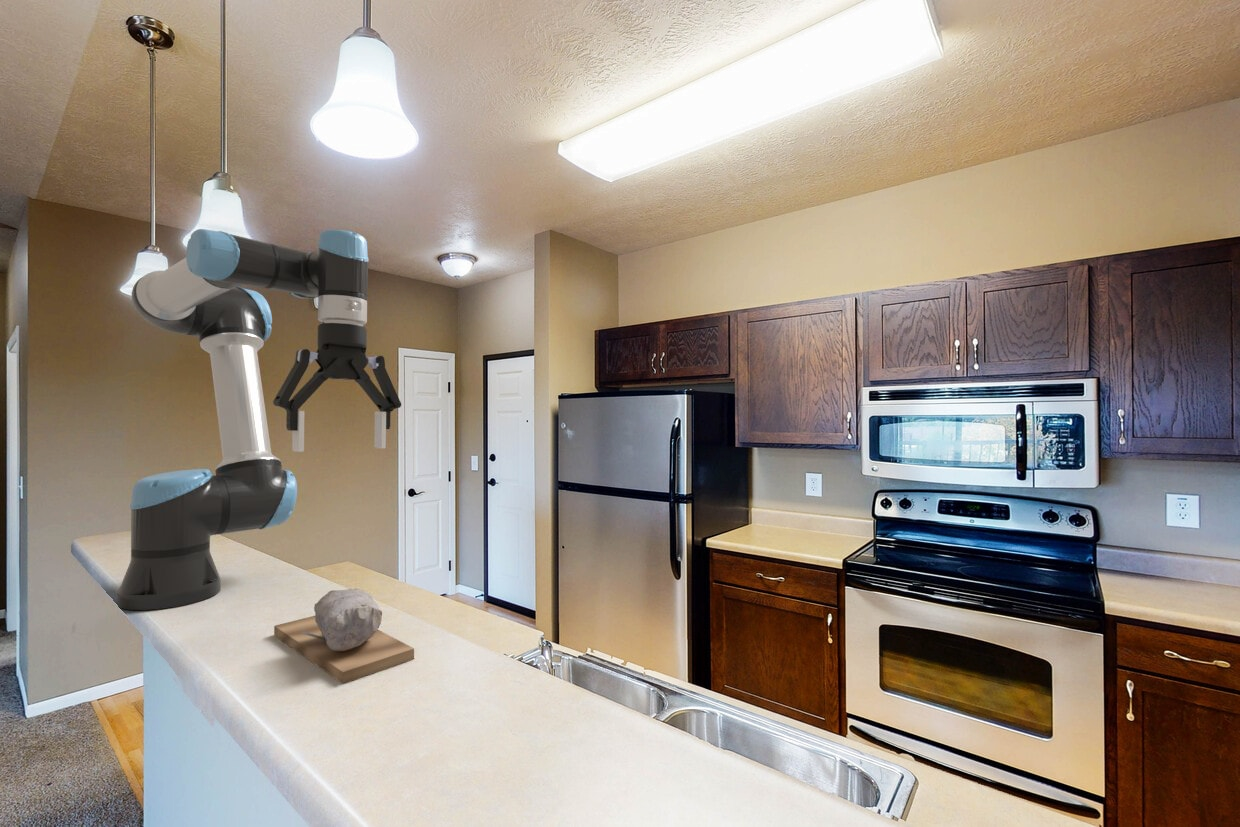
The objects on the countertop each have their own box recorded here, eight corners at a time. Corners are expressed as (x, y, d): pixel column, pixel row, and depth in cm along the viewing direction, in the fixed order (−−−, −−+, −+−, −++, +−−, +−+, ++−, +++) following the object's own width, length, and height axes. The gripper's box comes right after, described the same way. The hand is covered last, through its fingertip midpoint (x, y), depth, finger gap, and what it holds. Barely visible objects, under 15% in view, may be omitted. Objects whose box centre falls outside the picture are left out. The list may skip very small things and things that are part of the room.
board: (274, 635, 90) (274, 625, 90) (339, 618, 97) (339, 609, 97) (342, 683, 74) (343, 671, 74) (414, 658, 82) (414, 648, 82)
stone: (328, 661, 77) (329, 610, 77) (311, 633, 86) (313, 588, 86) (389, 648, 82) (391, 599, 82) (368, 623, 91) (369, 579, 91)
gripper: (268, 311, 85) (267, 454, 85) (421, 331, 104) (420, 447, 104) (251, 316, 90) (249, 451, 90) (400, 334, 109) (399, 445, 109)
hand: (341, 449), depth 97 cm, fingers open, 13 cm apart
